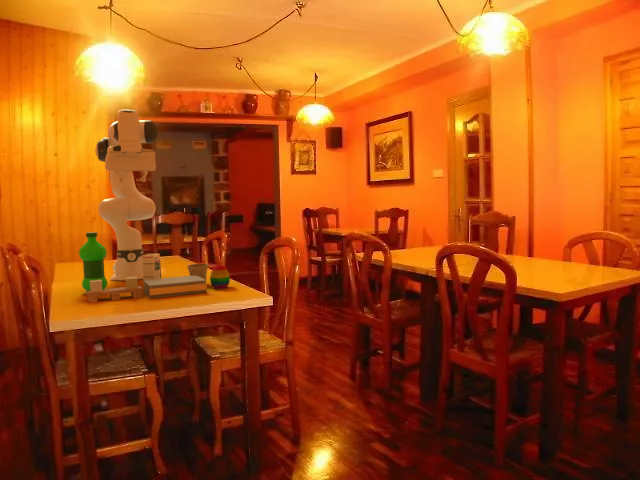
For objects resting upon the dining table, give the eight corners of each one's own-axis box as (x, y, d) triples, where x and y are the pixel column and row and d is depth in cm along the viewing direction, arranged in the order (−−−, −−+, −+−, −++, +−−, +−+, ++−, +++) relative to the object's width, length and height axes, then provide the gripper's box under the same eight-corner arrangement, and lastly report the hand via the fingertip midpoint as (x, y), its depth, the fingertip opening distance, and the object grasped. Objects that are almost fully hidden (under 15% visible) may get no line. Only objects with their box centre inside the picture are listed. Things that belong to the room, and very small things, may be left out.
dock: (144, 292, 223) (143, 280, 222) (197, 286, 232) (196, 275, 232) (150, 298, 208) (149, 285, 207) (206, 292, 217) (206, 280, 217)
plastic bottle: (93, 289, 231) (90, 231, 229) (113, 290, 228) (110, 231, 225) (76, 294, 222) (72, 233, 220) (96, 295, 218) (92, 233, 216)
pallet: (86, 300, 209) (86, 290, 208) (140, 294, 217) (140, 285, 217) (87, 302, 203) (86, 293, 203) (142, 297, 212) (142, 288, 212)
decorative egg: (227, 289, 224) (226, 265, 223) (208, 289, 225) (207, 265, 224) (232, 285, 232) (231, 262, 231) (213, 286, 233) (212, 263, 232)
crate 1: (90, 290, 208) (89, 280, 208) (101, 289, 210) (101, 279, 209) (91, 292, 204) (90, 282, 204) (102, 291, 206) (101, 281, 206)
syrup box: (155, 288, 230) (153, 254, 229) (143, 288, 232) (141, 254, 230) (162, 286, 236) (160, 253, 235) (149, 286, 237) (148, 253, 236)
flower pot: (183, 285, 236) (182, 266, 235) (195, 282, 244) (194, 263, 244) (201, 286, 232) (201, 266, 232) (213, 283, 241) (212, 263, 240)
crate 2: (126, 287, 214) (125, 277, 213) (136, 286, 215) (136, 276, 215) (127, 289, 210) (126, 278, 210) (137, 288, 212) (137, 277, 212)
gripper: (153, 149, 234) (154, 181, 235) (103, 148, 223) (105, 182, 224) (157, 148, 228) (158, 181, 230) (106, 147, 218) (108, 181, 219)
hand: (131, 181), depth 227 cm, fingers open, 8 cm apart
